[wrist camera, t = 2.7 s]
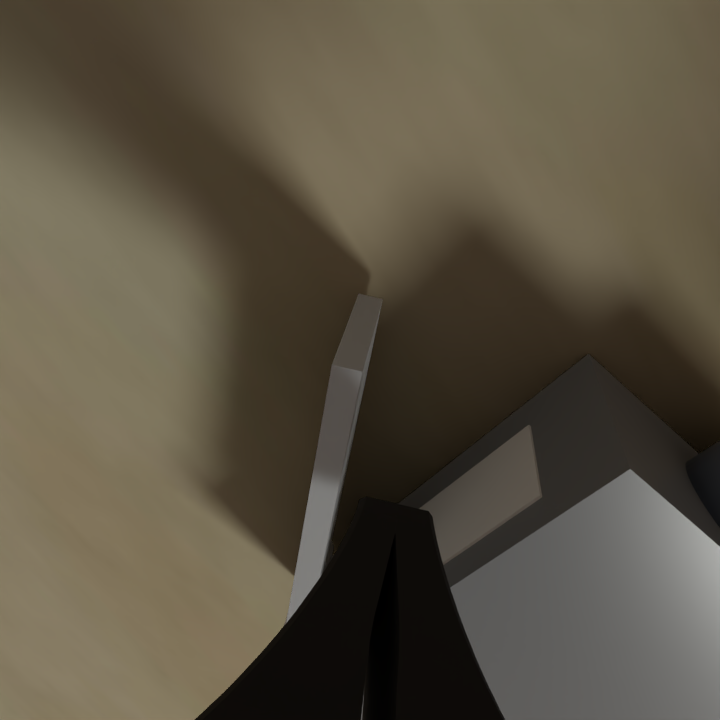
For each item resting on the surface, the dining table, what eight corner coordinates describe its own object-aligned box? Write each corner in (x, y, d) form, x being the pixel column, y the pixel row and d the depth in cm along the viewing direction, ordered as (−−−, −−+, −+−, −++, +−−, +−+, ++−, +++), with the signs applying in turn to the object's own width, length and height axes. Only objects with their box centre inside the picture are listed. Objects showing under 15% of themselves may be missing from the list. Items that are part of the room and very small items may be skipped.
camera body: (626, 320, 15) (695, 449, 11) (852, 532, 17) (990, 717, 12) (297, 580, 21) (252, 732, 16) (492, 715, 23) (499, 884, 18)
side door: (355, 290, 15) (325, 367, 12) (387, 297, 15) (366, 376, 12) (306, 551, 20) (275, 659, 16) (331, 556, 20) (305, 667, 16)
